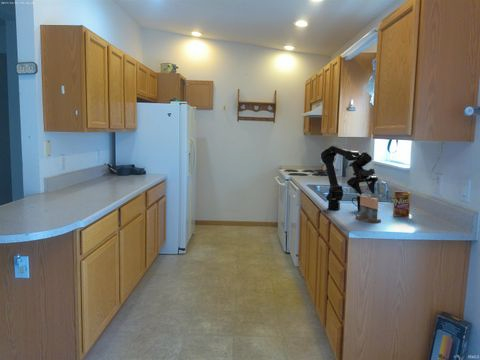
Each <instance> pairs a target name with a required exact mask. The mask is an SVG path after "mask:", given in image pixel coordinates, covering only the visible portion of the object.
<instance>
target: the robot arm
mask: <svg viewBox="0 0 480 360" xmlns="http://www.w3.org/2000/svg"><path fill="white" fill-rule="evenodd" d="M337 154H338V155H340V156H342V157H343V158H344V159H346V160H347V161H348V162H349V164H348V167H349V168H350V167H351V168H352V170H353V173H352V175H353V176H354V177H353V176H351V178H349V179H347V180H346V181H347V182H346V184H347V186H349V187H351V188H352V189H354V191H356V193H358V195H361V194H362V195H363V192H362V190H361V186H360V183H366V184H367V187H368V189H369V191H370V192H371V193H372V195H375V184H376V183H377V182H378V181H379V178H378V177H377V176H374V175H375V174H376V173H375V169H374V168H369V169H364V167H365V166H367V164H369V163H371V162H372V160H373V159H372V156H371V155H370V154H369V153H368V152H367V151H363V152H362V153H360V151H358V150H349V149H346V148H343V147H341V146H338V145H331V146H329V147H327V148H326V149H324V150H323V151H322V152H321V153H320V159H321V161H322V163H323V164H324V165H325V168H326V172H327V173H326V174H327V177H328V181H329V189H328V193H327V195H326V196H325V198H326V200H327V201H328V203H327V205H328V206H327V208H326V210H328V211H329V210H331V211H338V210H339V211H340V209H341V202H340V201H342V199H343V196H344V189H343V186H342V185H339V183H338V178H337V174H336V171H335V170H336V169H335V165H334V162H335V160H336V159H335V157H336V156H337ZM350 161H351V162H350Z"/></svg>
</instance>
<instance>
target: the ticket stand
mask: <svg viewBox="0 0 480 360" xmlns="http://www.w3.org/2000/svg"><path fill="white" fill-rule="evenodd" d="M378 209H379V208H378ZM378 209H373V208H369V207H365V206H362V205H360V211H359V213H358V215H355V219H356V218H357V220H361V221H363V222H366V223H370V224H375V223H377V224H378V223H381V222H382V219H381V218H378Z"/></svg>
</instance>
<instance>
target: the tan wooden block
mask: <svg viewBox="0 0 480 360" xmlns="http://www.w3.org/2000/svg"><path fill="white" fill-rule="evenodd" d="M360 205H362V206H365V207H369V208H373V209H379V198H376V197H372V196H371V197H368V196H360Z"/></svg>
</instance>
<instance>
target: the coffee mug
mask: <svg viewBox="0 0 480 360" xmlns="http://www.w3.org/2000/svg"><path fill="white" fill-rule="evenodd" d="M360 196H368V197H372V195H369V194H363V193H362V194H361V195H360V194H356V197H353V198H352V199H351V203H352V204H353V206H354V205H355V207H357V212H360ZM354 199H356V202H357V204H356V203H355V202H354V201H353V200H354Z"/></svg>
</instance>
